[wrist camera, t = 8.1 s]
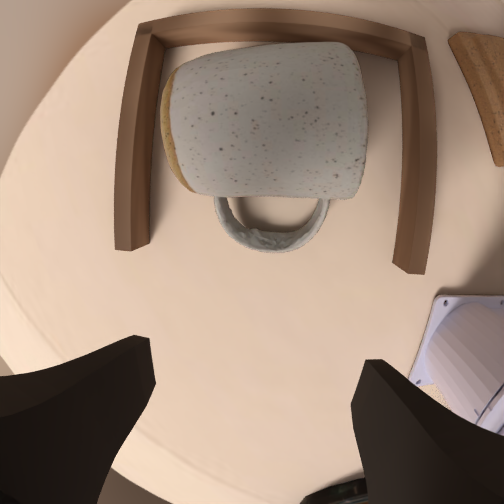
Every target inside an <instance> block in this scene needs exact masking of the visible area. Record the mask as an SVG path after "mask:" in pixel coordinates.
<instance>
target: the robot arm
mask: <svg viewBox="0 0 504 504" xmlns="http://www.w3.org/2000/svg"><path fill="white" fill-rule="evenodd" d="M445 300H446V303H445V304H443V303H444V301H445ZM431 384H435V385H436V387H437V388H438V390H439V391H440V393H441V394H442V396H443V397H444V399H445V400H446V402H447V403H448V405H449V407H450V408H451V410H452V411H453V412H452V411H450V410H449V409H447V408H446V407H444V406H443V405H441V404H440V403H438V402H437V401H435V400H434V399H433V398H431V397H430V396H429V395H427V394H426V393H425V392H423V391H422V390H421V389H419V388H418V387H417V386H423V385H431ZM155 385H156V381H155V375H154V369H153V362H152V355H151V348H150V340H149V338H146V337H141V336H137V335H132V336H129V337H127V338H124V339H122V340H119V341H117V342H115V343H112V344H110V345H108V346H105V347H103V348H101V349H98V350H96V351H94V352H91V353H89V354H87V355H84V356H82V357H79V358H76V359H74V360H71V361H68V362H66V363H63V364H60V365H57V366H54V367H50V368H47V369H43V370H39V371H35V372H30V373H24V374H17V375H10V376H0V504H97V501H98V498H99V495H100V492H101V490H102V487H103V484H104V482H105V479H106V477H107V474H108V472H109V470H110V467H111V465H112V463H113V461H114V458H115V456H116V455H117V453H118V451H119V449H120V448H121V446H122V444H123V443H124V441H125V440H126V438H127V436H128V435H129V433H130V432H131V430H132V428H133V427H134V425H135V424H136V422H137V420H138V419H139V417H140V416H141V414H142V412H143V411H144V409H145V407H146V406H147V403H148V401H149V399H150V397H151V394H152V392H153V390H154V387H155ZM351 412H352V421H353V429H354V433H355V437H356V441H357V445H358V449H359V453H360V457H361V461H362V466H363V470H364V474H365V478H366V484H367V491H368V504H504V296H479V295H438V296H437V297H436V298H435V300H434V302H433V306H432V310H431V313H430V317H429V320H428V324H427V327H426V330H425V333H424V337H423V340H422V343H421V346H420V348H419V351H418V354H417V357H416V360H415V362H414V365H413V368H412V370H411V373H410V375H409V378H408V379H407V378H406V377H404V376H403V375H402V374H401V373H400V372H398V371H397V370H396V369H395V368H393V367H392V366H391V365H389V364H388V363H387V362H385V361H384V360H382V359H373V360H365V363H364V366H363V370H362V373H361V376H360V379H359V382H358V385H357V388H356V391H355V394H354V396H353V399H352V402H351Z"/></svg>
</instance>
